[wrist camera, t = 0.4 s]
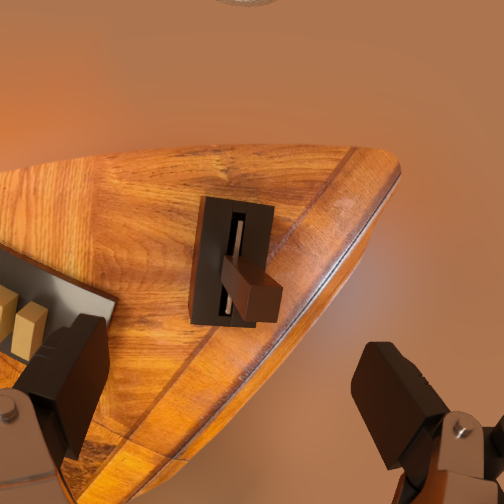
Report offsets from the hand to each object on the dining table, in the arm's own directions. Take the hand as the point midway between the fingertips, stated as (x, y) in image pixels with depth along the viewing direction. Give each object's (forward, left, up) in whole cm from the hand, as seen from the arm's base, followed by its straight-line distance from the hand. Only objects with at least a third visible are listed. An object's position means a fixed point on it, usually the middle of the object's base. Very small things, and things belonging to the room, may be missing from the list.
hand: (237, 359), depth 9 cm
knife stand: (+2, +3, -23) cm, 24 cm away
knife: (+2, +3, -23) cm, 24 cm away
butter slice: (+6, -18, -22) cm, 29 cm away
